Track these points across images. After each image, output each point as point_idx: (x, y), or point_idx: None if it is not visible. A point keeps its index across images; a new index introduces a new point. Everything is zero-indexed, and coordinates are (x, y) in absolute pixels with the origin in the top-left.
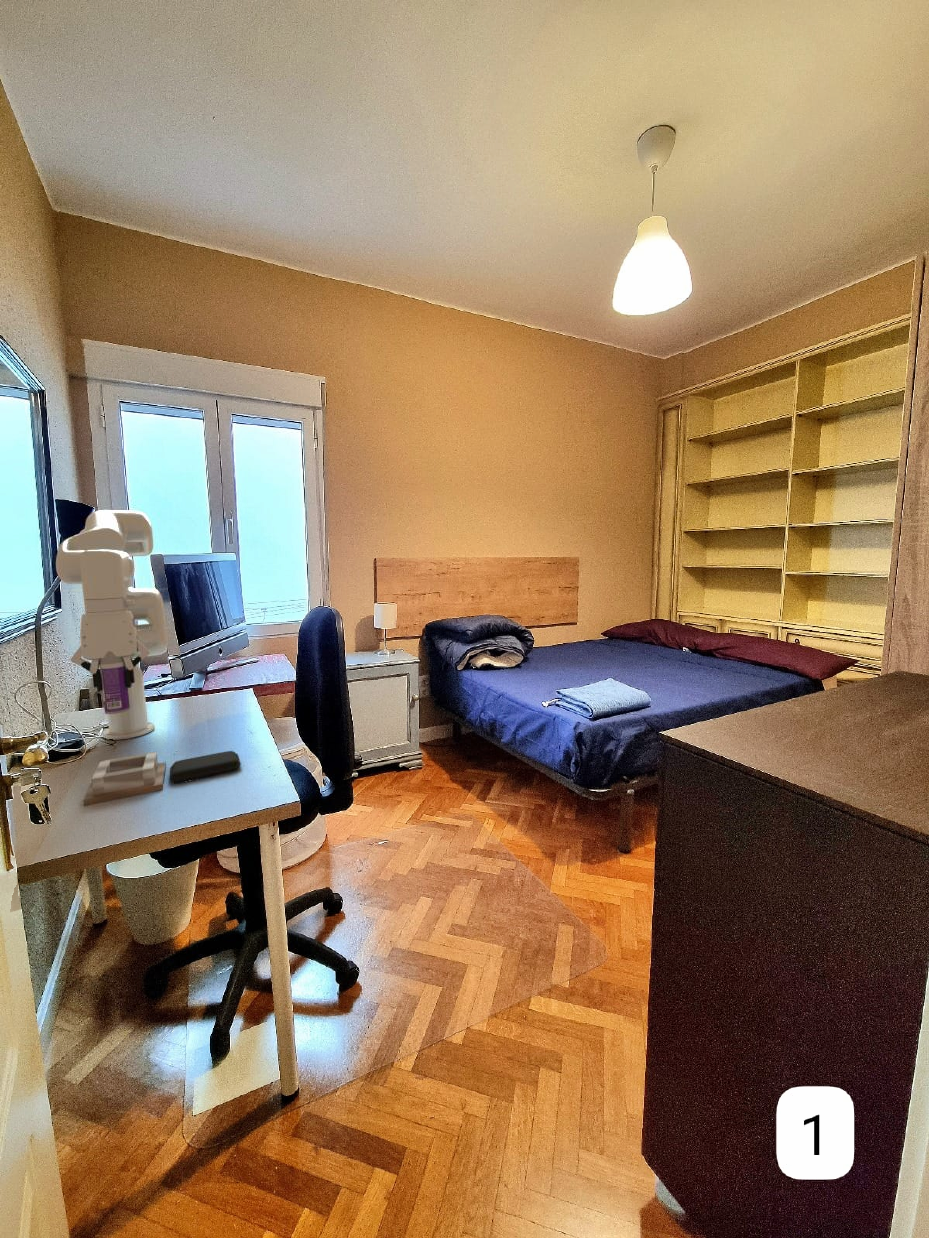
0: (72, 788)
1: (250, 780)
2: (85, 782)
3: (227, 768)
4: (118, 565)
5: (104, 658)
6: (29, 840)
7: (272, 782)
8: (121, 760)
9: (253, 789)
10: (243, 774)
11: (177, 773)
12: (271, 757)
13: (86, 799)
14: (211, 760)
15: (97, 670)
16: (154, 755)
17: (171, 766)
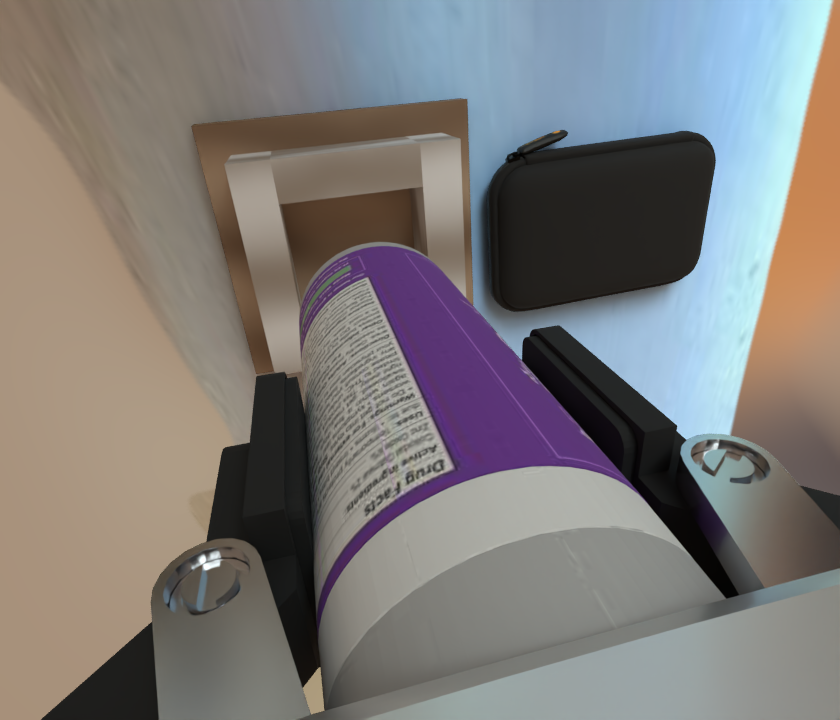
0: (131, 187)
1: (683, 350)
2: (157, 135)
3: (656, 284)
4: None
5: None
6: (205, 516)
7: (721, 381)
8: (325, 197)
9: (674, 406)
10: (679, 300)
11: (522, 305)
12: (788, 184)
13: (265, 371)
14: (631, 243)
15: (301, 672)
16: (456, 195)
17: (496, 193)
